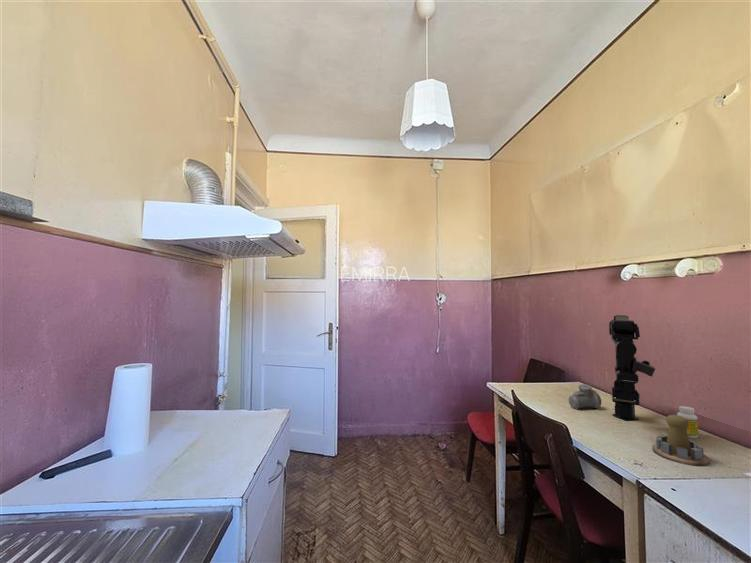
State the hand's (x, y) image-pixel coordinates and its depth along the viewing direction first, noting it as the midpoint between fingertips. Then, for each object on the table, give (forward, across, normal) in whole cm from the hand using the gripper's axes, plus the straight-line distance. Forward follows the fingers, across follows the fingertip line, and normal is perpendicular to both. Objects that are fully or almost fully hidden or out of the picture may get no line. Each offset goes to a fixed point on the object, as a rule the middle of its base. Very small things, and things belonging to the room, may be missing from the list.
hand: (626, 395), depth 123 cm
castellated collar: (+13, -15, -12) cm, 23 cm away
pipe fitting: (+13, +22, +15) cm, 30 cm away
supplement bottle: (+13, +8, -18) cm, 23 cm away
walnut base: (+13, -15, -12) cm, 23 cm away
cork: (+12, -15, -12) cm, 23 cm away
